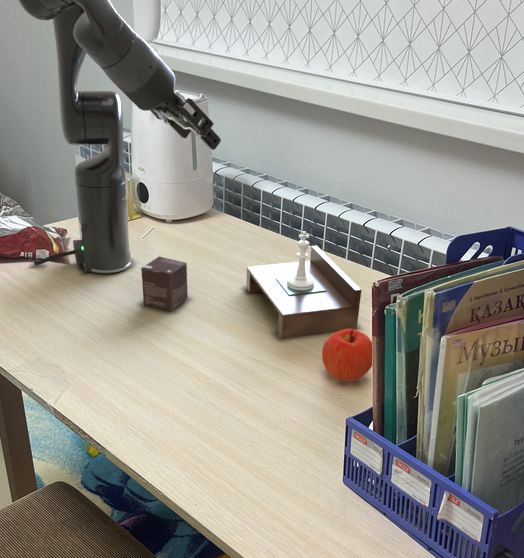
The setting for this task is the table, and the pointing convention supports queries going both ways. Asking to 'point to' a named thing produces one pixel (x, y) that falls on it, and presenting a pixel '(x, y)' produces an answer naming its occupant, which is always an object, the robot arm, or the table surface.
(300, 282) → the chess piece
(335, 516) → the table surface
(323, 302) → the shelf
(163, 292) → the box
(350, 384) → the table surface
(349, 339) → the apple
